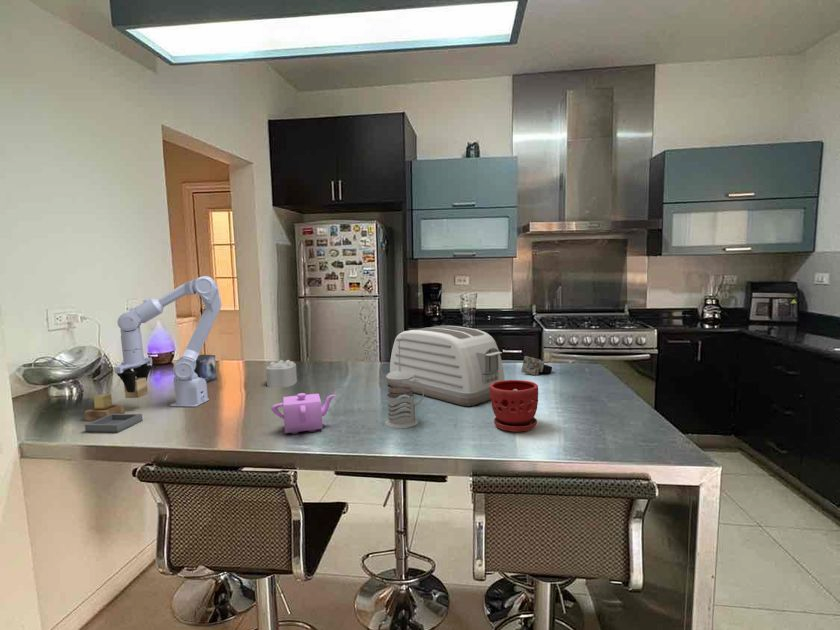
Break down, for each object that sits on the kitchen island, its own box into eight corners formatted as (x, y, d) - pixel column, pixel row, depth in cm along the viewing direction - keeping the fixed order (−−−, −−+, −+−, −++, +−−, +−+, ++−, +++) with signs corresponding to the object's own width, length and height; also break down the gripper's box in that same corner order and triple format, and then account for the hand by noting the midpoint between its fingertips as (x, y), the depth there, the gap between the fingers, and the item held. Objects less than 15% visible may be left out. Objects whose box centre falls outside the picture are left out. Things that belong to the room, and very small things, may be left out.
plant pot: (537, 419, 134) (537, 379, 133) (538, 436, 121) (538, 391, 120) (492, 417, 137) (491, 377, 136) (488, 433, 124) (487, 389, 123)
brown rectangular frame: (124, 413, 149) (123, 404, 149) (106, 421, 142) (105, 411, 142) (103, 413, 150) (102, 404, 150) (85, 420, 143) (84, 411, 142)
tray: (142, 421, 141) (142, 414, 141) (117, 433, 131) (116, 425, 131) (112, 420, 142) (111, 413, 142) (85, 432, 132) (84, 424, 132)
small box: (200, 386, 182) (198, 359, 181) (186, 385, 183) (184, 359, 182) (217, 379, 192) (215, 354, 191) (203, 379, 193) (201, 354, 192)
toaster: (474, 411, 144) (473, 339, 141) (382, 386, 176) (380, 327, 173) (517, 395, 159) (517, 330, 157) (426, 375, 191) (425, 321, 189)
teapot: (335, 417, 140) (334, 385, 139) (341, 433, 127) (339, 397, 126) (273, 425, 135) (271, 391, 134) (272, 442, 122) (269, 404, 121)
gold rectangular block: (113, 415, 147) (111, 394, 147) (105, 419, 144) (102, 397, 143) (104, 415, 148) (101, 393, 147) (95, 418, 145) (93, 396, 144)
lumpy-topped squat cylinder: (264, 387, 177) (262, 365, 176) (275, 379, 190) (274, 358, 189) (291, 387, 177) (289, 364, 176) (300, 378, 190) (299, 357, 189)
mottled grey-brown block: (550, 377, 193) (549, 379, 183) (522, 370, 196) (520, 372, 186) (553, 361, 192) (553, 362, 183) (526, 354, 196) (524, 355, 186)
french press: (386, 416, 140) (383, 334, 137) (424, 416, 139) (422, 333, 137) (382, 428, 130) (379, 340, 127) (424, 427, 130) (422, 339, 127)
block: (147, 393, 155) (146, 377, 154) (138, 397, 150) (136, 380, 150) (135, 394, 155) (133, 377, 155) (125, 397, 151) (123, 381, 150)
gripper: (137, 345, 159) (141, 383, 160) (103, 353, 144) (108, 396, 146) (156, 344, 158) (160, 383, 159) (124, 353, 143) (129, 396, 145)
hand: (136, 389), depth 153 cm, fingers closed on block, 4 cm apart
